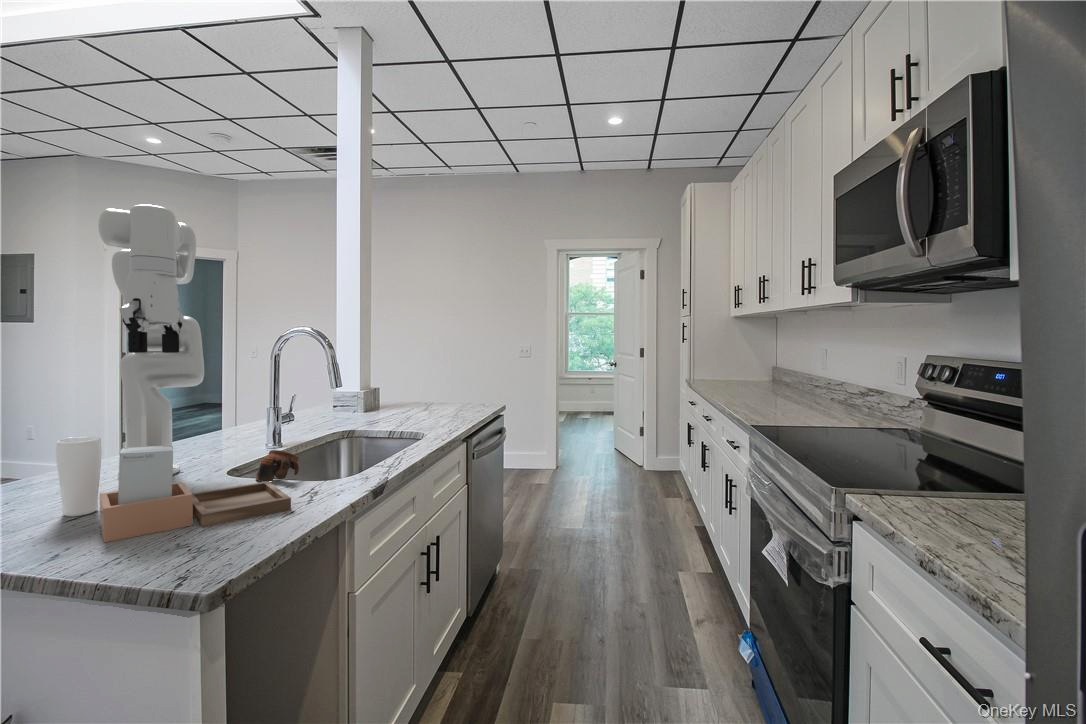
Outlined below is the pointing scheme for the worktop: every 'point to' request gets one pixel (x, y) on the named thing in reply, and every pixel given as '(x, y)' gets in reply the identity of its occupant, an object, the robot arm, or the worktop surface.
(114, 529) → the open rectangular tray
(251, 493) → the walnut tray
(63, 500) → the drinking glass
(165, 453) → the skincare box
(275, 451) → the brown irregular lump
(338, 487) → the worktop surface
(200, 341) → the robot arm
